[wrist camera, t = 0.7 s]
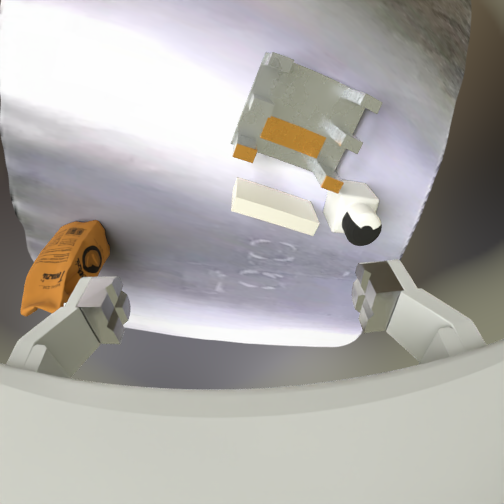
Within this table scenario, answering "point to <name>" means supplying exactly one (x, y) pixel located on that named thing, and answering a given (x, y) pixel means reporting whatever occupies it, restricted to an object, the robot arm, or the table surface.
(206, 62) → the table surface
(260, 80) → the panel rack
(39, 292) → the coffee package
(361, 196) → the medicine bottle
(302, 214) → the panel
